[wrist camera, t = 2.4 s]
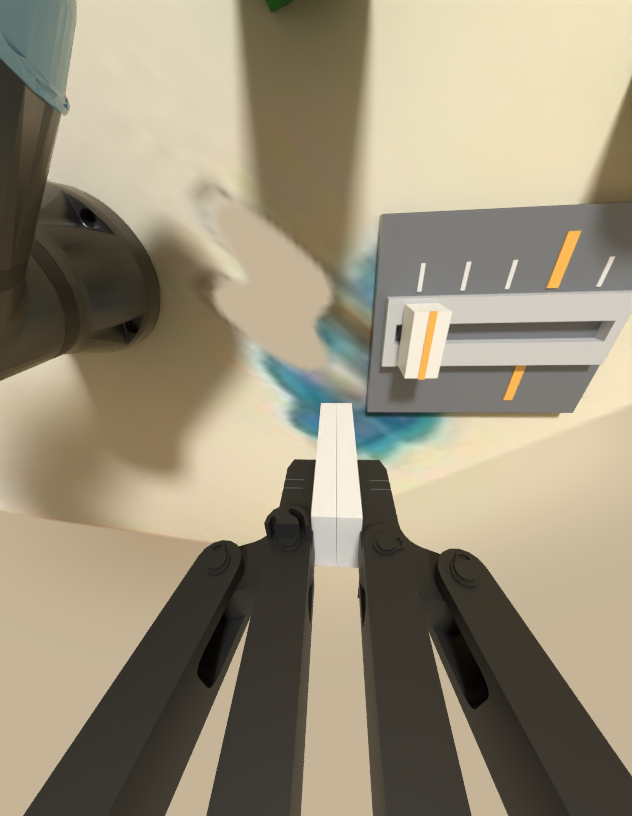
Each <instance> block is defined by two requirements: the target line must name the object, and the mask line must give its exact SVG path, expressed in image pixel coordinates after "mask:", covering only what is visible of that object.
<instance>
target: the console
mask: <svg viewBox="0 0 632 816" xmlns="http://www.w3.org/2000/svg"><path fill="white" fill-rule="evenodd" d="M419 303H439V304H441V305H443V306H444V307H446V308H448V309H449V310H451V311H452V316H451V320H450V325H449V329H448V334H447V338H446V342H445V347H444V351H443V356H442V360H441V365H440V369H439V373H438V378H425V380H418V379H417V378H406V379H405V378H404V376H403V374H402V372H401V371H400V369H399V367H398V365H397V362H398V354H399V347H400V340H401V332H402V325H403V317H404V310H405V304H419ZM631 313H632V202H619V203H599V204H578V205H558V206H537V207H517V208H496V209H476V210H455V211H435V212H414V213H394V214H382V215H380V227H379V241H378V254H377V268H376V281H375V294H374V308H373V321H372V334H371V348H370V361H369V374H368V388H367V401H366V408H367V412H489V413H573V411H574V410H575V408H576V406H577V404H578V403H579V401H580V399H581V397H582V396H583V394H584V392H585V390H586V388H587V387H588V385H589V383H590V381H591V380H592V378H593V376H594V374H595V373H596V371H597V369H598V367H599V365H602V364H603V362H604V360H605V358H606V357H607V355H608V353H609V351H610V350H611V348H612V346H613V344H614V343H615V341H616V339H617V337H618V336H619V334H620V332H621V330H622V329H623V327H624V325H625V323H626V322H627V320H628V318H629V316H630V315H631Z"/></svg>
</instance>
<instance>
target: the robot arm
mask: <svg viewBox="0 0 632 816" xmlns="http://www.w3.org/2000/svg"><path fill="white" fill-rule="evenodd" d="M76 15H77V6H76V0H0V381H1V380H4V379H6V378H8V377H11V376H13V375H16V374H18V373H20V372H23V371H25V370H27V369H30V368H32V367H35V366H37V365H39V364H42V363H44V362H46V361H48V360H51V359H53V358H56V357H58V356H61V355H63V354H79V353H97V352H111V351H117V350H121V349H124V348H126V347H128V346H130V345H132V344H134V343H136V342H138V341H140V340H142V339H143V338H144V337H146V336H147V335H148V334H149V333H150V332H151V330H152V329H153V327H154V325H155V323H156V321H157V318H158V315H159V310H160V291H159V285H158V280H157V277H156V273H155V270H154V268H153V265H152V263H151V260H150V258H149V256H148V254H147V252H146V251H145V249H144V247H143V246H142V244H141V242H140V241H139V239H138V238H137V237H136V235H135V234H134V233H133V231H132V230H131V229H130V228H129V227H128V225H127V224H126V223H125V222H124V221H123V220H122V219H121V218H120V217H119V216H118V215H117V214H116V213H115V212H114V211H112V210H111V209H110V208H109V207H108V206H106V205H105V204H104V203H102V202H101V201H99V200H98V199H96V198H95V197H93V196H91V195H89V194H87V193H86V192H83V191H81V190H79V189H76V188H74V187H71V186H67V185H63V184H58V183H53V182H48V181H47V176H48V172H49V167H50V162H51V158H52V153H53V149H54V144H55V140H56V135H57V131H58V126H59V122H60V117H61V114H63V115H67V113H68V111H69V108H70V105H69V102H68V99H67V97H66V95H65V92H66V85H67V78H68V71H69V65H70V58H71V52H72V45H73V39H74V32H75V26H76ZM264 524H265V529H266V533H267V536H265V537H264V538H262V539H261V540H258V541H256V542H253V543H249V544H246V545H242V546H239V547H238V546H237V544H235V543H233V542H232V541H225V540H222V541H218V542H215V543H213V544H211V545H210V546H208V547H207V548H205V549H204V550H203V552H202V553H201V554H200V555H199V556H198V558H197V559H196V561H195V562H194V564H193V565H192V567H191V568H190V569H189V571H188V572H187V574H186V575H185V577H184V578H183V580H182V581H181V583H180V584H179V586H178V587H177V589H176V590H175V592H174V593H173V595H172V596H171V598H170V599H169V601H168V602H167V604H166V605H165V607H164V608H163V610H162V611H161V613H160V614H159V615H158V617H157V618H156V620H155V621H154V623H153V624H152V626H151V627H150V629H149V630H148V632H147V633H146V635H145V636H144V638H143V639H142V641H141V642H140V643H139V645H138V647H137V648H136V650H135V651H134V652H133V654H132V655H131V657H130V658H129V660H128V661H127V663H126V664H125V666H124V667H123V669H122V670H121V672H120V673H119V675H118V676H117V678H116V679H115V681H114V682H113V683H112V685H111V687H110V688H109V689H108V691H107V692H106V694H105V695H104V697H103V698H102V700H101V701H100V703H99V704H98V706H97V707H96V709H95V710H94V712H93V713H92V715H91V716H90V718H89V719H88V720H87V722H86V723H85V725H84V726H83V728H82V729H81V731H80V732H79V734H78V735H77V737H76V738H75V740H74V741H73V743H72V744H71V746H70V747H69V749H68V750H67V752H66V753H65V755H64V756H63V757H62V759H61V761H60V762H59V763H58V765H57V766H56V768H55V769H54V771H53V772H52V774H51V775H50V777H49V778H48V780H47V781H46V783H45V784H44V786H43V787H42V789H41V790H40V792H39V793H38V794H37V796H36V797H35V799H34V801H33V802H32V803H31V805H30V806H29V808H28V809H27V811H26V812H25V814H24V815H23V816H165V814H166V812H167V809H168V807H169V805H170V803H171V800H172V798H173V796H174V793H175V791H176V789H177V786H178V784H179V782H180V779H181V777H182V775H183V772H184V770H185V768H186V765H187V763H188V761H189V758H190V756H191V754H192V751H193V749H194V747H195V744H196V742H197V740H198V737H199V735H200V733H201V730H202V728H203V726H204V724H205V721H206V719H207V717H208V714H209V712H210V710H211V707H212V705H213V703H214V700H215V698H216V696H217V693H218V691H219V689H220V686H221V684H222V682H223V679H224V677H225V675H226V672H227V670H228V668H229V665H230V663H231V661H232V658H233V656H234V654H235V651H236V649H237V647H238V644H239V642H240V640H241V637H242V635H243V633H244V630H245V628H246V626H247V623H248V621H249V619H250V623H249V627H248V632H247V636H246V641H245V645H244V650H243V655H242V659H241V663H240V668H239V672H238V677H237V681H236V686H235V690H234V695H233V699H232V704H231V708H230V712H229V717H228V721H227V726H226V730H225V735H224V739H223V744H222V749H221V753H220V757H219V762H218V767H217V771H216V775H215V780H214V784H213V789H212V793H211V798H210V802H209V807H208V811H207V816H301V800H302V783H303V767H304V749H305V733H306V715H307V698H308V682H309V681H308V680H309V665H310V647H311V631H312V614H313V597H314V596H313V595H314V566H332V567H335V566H337V567H356V568H358V565H359V588H358V598H359V599H360V616H361V631H362V648H363V663H364V680H365V695H366V710H367V728H368V744H369V760H370V776H371V792H372V808H373V816H471V812H470V807H469V803H468V799H467V795H466V790H465V786H464V782H463V778H462V773H461V769H460V765H459V760H458V756H457V752H456V747H455V743H454V739H453V735H452V730H451V726H450V722H449V718H448V713H447V709H446V705H445V700H444V696H443V692H442V688H441V684H440V679H439V675H438V671H437V666H436V662H435V658H434V654H433V649H432V645H431V641H430V636H429V633H430V635H431V638H432V640H433V642H434V645H435V647H436V649H437V652H438V654H439V656H440V659H441V661H442V663H443V665H444V668H445V670H446V672H447V675H448V677H449V679H450V682H451V684H452V686H453V689H454V691H455V693H456V696H457V698H458V700H459V703H460V705H461V707H462V710H463V712H464V714H465V716H466V719H467V721H468V723H469V726H470V728H471V730H472V733H473V735H474V737H475V739H476V742H477V744H478V746H479V749H480V751H481V753H482V756H483V758H484V760H485V762H486V765H487V767H488V769H489V772H490V774H491V777H492V779H493V781H494V783H495V786H496V788H497V790H498V792H499V795H500V797H501V799H502V802H503V804H504V807H505V809H506V811H507V814H508V815H509V816H632V776H631V775H630V773H629V772H628V770H627V769H626V768H625V766H624V765H623V763H622V762H621V760H620V759H619V757H618V756H617V755H616V753H615V752H614V750H613V749H612V748H611V746H610V744H609V743H608V742H607V740H606V739H605V737H604V736H603V734H602V733H601V732H600V730H599V729H598V727H597V726H596V724H595V723H594V722H593V720H592V719H591V717H590V716H589V714H588V713H587V711H586V710H585V709H584V707H583V706H582V704H581V703H580V701H579V700H578V698H577V697H576V696H575V694H574V693H573V691H572V690H571V688H570V687H569V686H568V684H567V683H566V681H565V680H564V678H563V677H562V676H561V674H560V673H559V671H558V670H557V668H556V667H555V666H554V664H553V663H552V661H551V660H550V658H549V657H548V655H547V654H546V653H545V651H544V650H543V648H542V647H541V646H540V644H539V643H538V641H537V640H536V638H535V637H534V635H533V634H532V633H531V631H530V630H529V628H528V627H527V625H526V624H525V622H524V621H523V620H522V618H521V617H520V615H519V614H518V612H517V611H516V610H515V608H514V607H513V605H512V604H511V602H510V601H509V599H508V598H507V597H506V595H505V594H504V592H503V591H502V589H501V588H500V587H499V585H498V584H497V582H496V581H495V579H494V578H493V576H492V575H491V574H490V572H489V571H488V569H487V568H486V567H485V566H484V564H483V563H482V562H481V561H480V560H479V559H478V558H476V557H475V556H473V555H472V554H470V553H469V552H466V551H463V550H461V549H448V550H446V551H444V552H442V554H438V553H436V552H433V551H430V550H427V549H424V548H422V547H419V546H417V545H415V544H414V543H413V542H411V541H409V539H408V538H407V537H406V536H405V535H404V534H403V532H402V531H401V529H400V526H399V524H398V519H397V515H396V510H395V506H394V501H393V497H392V492H391V488H390V483H389V479H388V474H387V470H386V468H385V467H384V466H383V464H382V463H381V462H380V460H357V454H356V444H355V434H354V424H353V413H352V403H321V410H320V421H319V432H318V443H317V454H316V460H296V459H294V461H293V462H292V463H291V465H290V466H289V467H288V469H287V474H286V480H285V483H284V489H283V493H282V497H281V502H280V507H278V508H276V509H274V510H273V511H272V512H271V513H270V514H269V515H268V516H267V518H266V521H265V523H264ZM250 617H251V618H250ZM428 631H429V632H428Z"/></svg>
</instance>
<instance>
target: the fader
mask: <svg viewBox="0 0 632 816" xmlns="http://www.w3.org/2000/svg"><path fill="white" fill-rule="evenodd" d="M451 316H452V311H451V310H449V309H448V308H446V307H444V306H443V305H441V304H439V303H419V304H405V310H404V317H403V325H402V332H401V340H400V347H399V354H398V362H397V365H398V367H399V369H400V371H401V372H402V374H403V376H404V378H405V379H406V378H417V379H418V380H425V378H438V373H439V369H440V365H441V360H442V356H443V351H444V347H445V342H446V338H447V334H448V329H449V325H450V320H451Z"/></svg>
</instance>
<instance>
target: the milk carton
mask: <svg viewBox="0 0 632 816" xmlns="http://www.w3.org/2000/svg"><path fill="white" fill-rule="evenodd" d="M266 1H267V3H268V6H269V8H270V11H271V12H273V11H275V10H277V9H278V8H280V7H282V6H284V5H286V4H287V3H289V2H291V1H293V0H266Z"/></svg>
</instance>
